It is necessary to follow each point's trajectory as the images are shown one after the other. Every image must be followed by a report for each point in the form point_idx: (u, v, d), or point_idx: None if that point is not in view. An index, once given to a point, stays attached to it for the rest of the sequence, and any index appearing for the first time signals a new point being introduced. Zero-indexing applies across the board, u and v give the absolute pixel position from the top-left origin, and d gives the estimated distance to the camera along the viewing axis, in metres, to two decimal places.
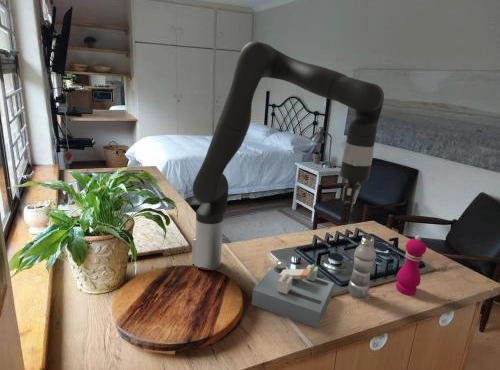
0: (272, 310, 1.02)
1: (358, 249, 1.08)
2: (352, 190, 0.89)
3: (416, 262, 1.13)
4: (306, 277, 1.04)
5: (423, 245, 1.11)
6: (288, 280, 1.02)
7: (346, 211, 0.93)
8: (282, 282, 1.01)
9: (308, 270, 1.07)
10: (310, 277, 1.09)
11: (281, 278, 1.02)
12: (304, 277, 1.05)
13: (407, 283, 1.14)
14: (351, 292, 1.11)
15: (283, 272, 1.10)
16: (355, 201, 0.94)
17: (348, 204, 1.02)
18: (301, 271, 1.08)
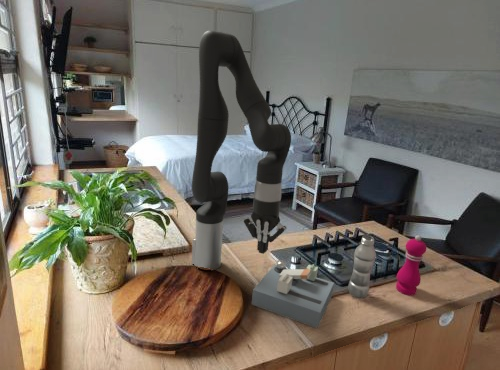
0: (272, 310, 1.02)
1: (358, 249, 1.08)
2: (285, 229, 1.00)
3: (416, 262, 1.13)
4: (306, 277, 1.04)
5: (423, 245, 1.11)
6: (288, 280, 1.02)
7: (268, 242, 1.02)
8: (282, 282, 1.01)
9: (308, 270, 1.07)
10: (310, 277, 1.09)
11: (281, 278, 1.02)
12: (304, 277, 1.05)
13: (407, 283, 1.14)
14: (351, 292, 1.11)
15: (283, 272, 1.10)
16: None
17: None
18: (301, 271, 1.08)
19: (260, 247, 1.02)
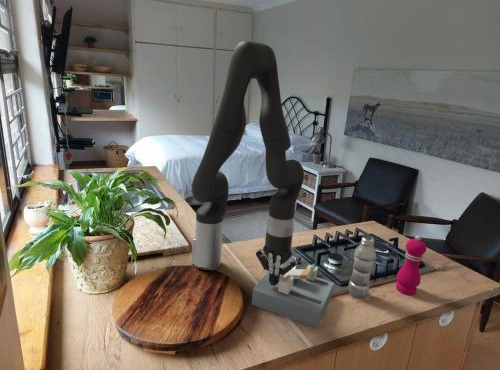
0: (272, 310, 1.02)
1: (358, 249, 1.08)
2: (297, 262, 1.00)
3: (416, 262, 1.13)
4: (306, 277, 1.04)
5: (423, 245, 1.11)
6: (289, 280, 1.02)
7: None
8: (283, 282, 1.01)
9: (308, 270, 1.07)
10: (310, 277, 1.09)
11: (282, 278, 1.02)
12: (304, 277, 1.05)
13: (407, 283, 1.14)
14: (351, 292, 1.11)
15: None
16: None
17: None
18: (301, 271, 1.08)
19: (272, 279, 1.03)
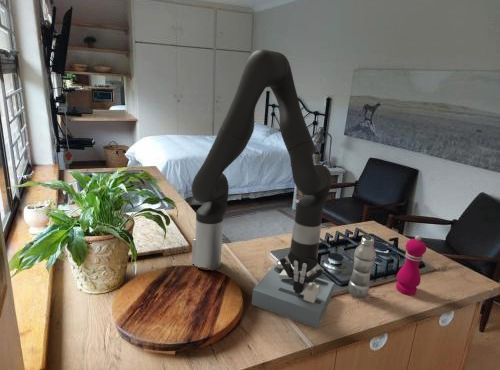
0: (272, 310, 1.02)
1: (358, 249, 1.08)
2: (323, 270, 0.97)
3: (416, 262, 1.13)
4: None
5: (423, 245, 1.11)
6: (315, 288, 0.99)
7: None
8: (309, 291, 0.98)
9: None
10: None
11: (308, 286, 0.99)
12: None
13: (407, 283, 1.14)
14: (351, 292, 1.11)
15: (283, 272, 1.10)
16: None
17: None
18: None
19: (296, 287, 1.00)
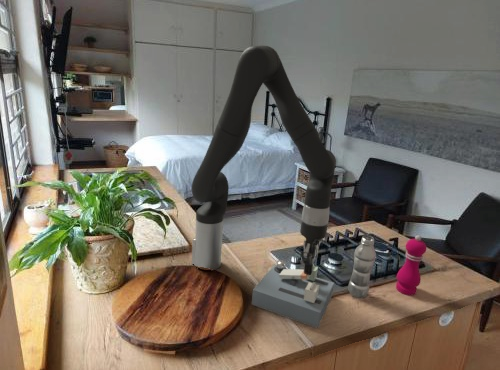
0: (272, 310, 1.02)
1: (358, 249, 1.08)
2: None
3: (416, 262, 1.13)
4: (306, 277, 1.04)
5: (423, 245, 1.11)
6: (315, 288, 0.99)
7: None
8: (309, 291, 0.98)
9: None
10: (310, 277, 1.09)
11: (308, 286, 0.99)
12: (304, 277, 1.05)
13: (407, 283, 1.14)
14: (351, 292, 1.11)
15: (283, 272, 1.10)
16: None
17: None
18: (301, 271, 1.08)
19: (311, 269, 1.05)
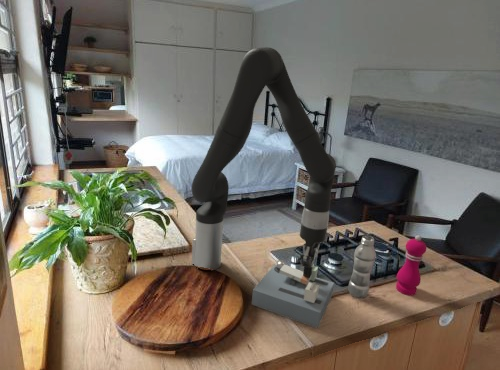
0: (272, 310, 1.02)
1: (358, 249, 1.08)
2: None
3: (416, 262, 1.13)
4: (306, 282, 1.05)
5: (423, 245, 1.11)
6: (315, 288, 0.99)
7: None
8: (309, 291, 0.98)
9: None
10: None
11: (308, 286, 0.99)
12: (304, 282, 1.05)
13: (407, 283, 1.14)
14: (351, 292, 1.11)
15: (284, 268, 1.09)
16: None
17: None
18: (302, 274, 1.08)
19: (311, 271, 1.05)
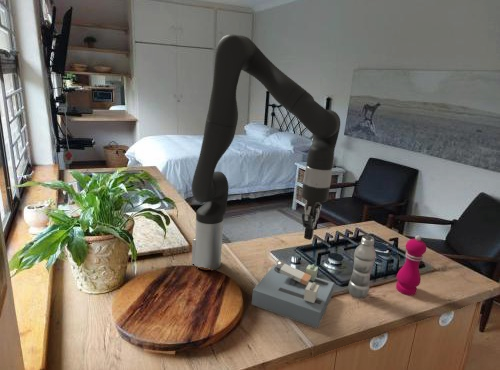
0: (272, 310, 1.02)
1: (358, 249, 1.08)
2: None
3: (416, 262, 1.13)
4: (306, 283, 1.05)
5: (423, 245, 1.11)
6: (315, 288, 0.99)
7: None
8: (309, 291, 0.98)
9: (309, 276, 1.08)
10: None
11: (308, 286, 0.99)
12: (304, 282, 1.05)
13: (407, 283, 1.14)
14: (351, 292, 1.11)
15: (284, 267, 1.09)
16: None
17: None
18: (302, 274, 1.08)
19: (312, 233, 1.03)
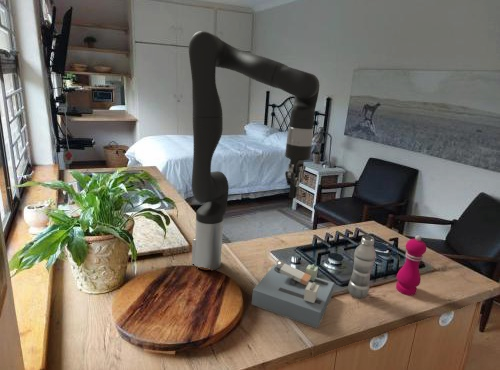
0: (272, 310, 1.02)
1: (358, 249, 1.08)
2: None
3: (416, 262, 1.13)
4: (306, 283, 1.05)
5: (423, 245, 1.11)
6: (315, 288, 0.99)
7: None
8: (309, 291, 0.98)
9: (309, 276, 1.08)
10: None
11: (308, 286, 0.99)
12: (304, 282, 1.05)
13: (407, 283, 1.14)
14: (351, 292, 1.11)
15: (284, 267, 1.09)
16: None
17: None
18: (302, 274, 1.08)
19: (296, 192, 1.10)
